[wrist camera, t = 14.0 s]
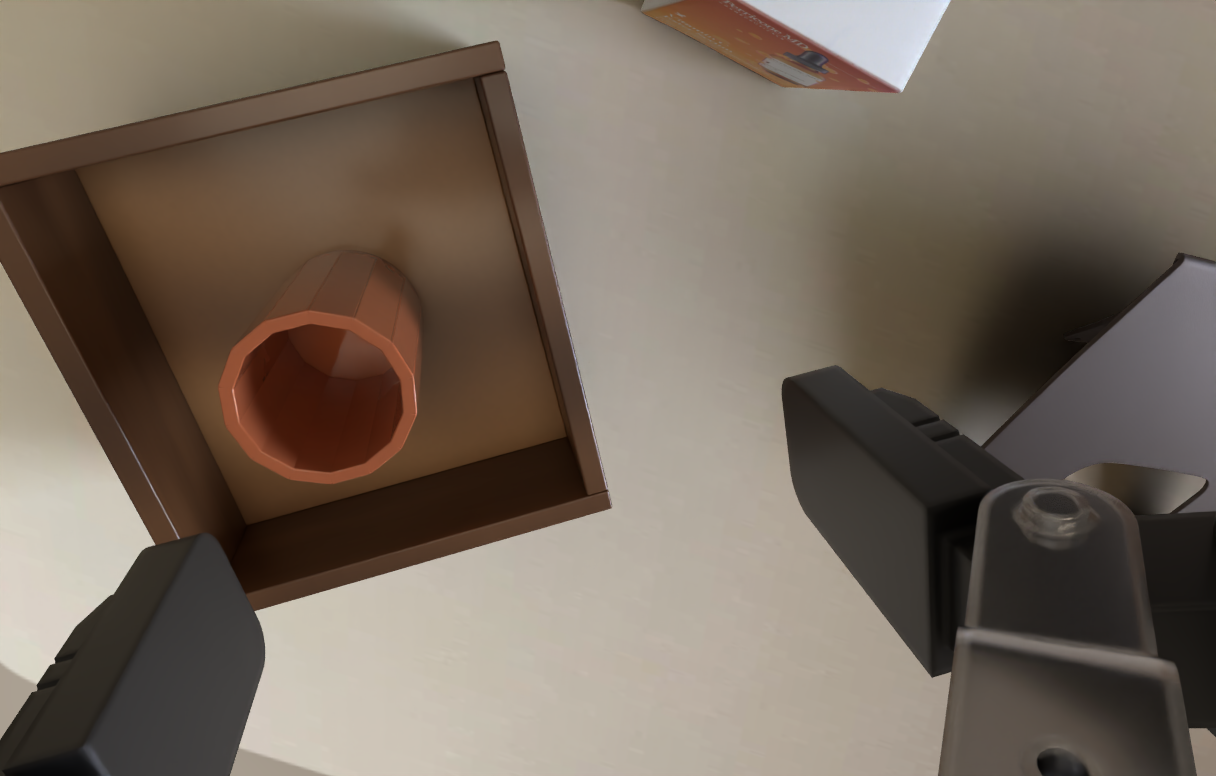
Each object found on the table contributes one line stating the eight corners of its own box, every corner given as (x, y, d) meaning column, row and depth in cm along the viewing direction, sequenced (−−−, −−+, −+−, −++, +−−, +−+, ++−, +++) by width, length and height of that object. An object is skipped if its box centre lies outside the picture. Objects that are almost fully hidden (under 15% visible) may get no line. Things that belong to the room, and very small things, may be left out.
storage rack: (130, 131, 32) (-55, 165, 20) (480, 51, 34) (498, 39, 22) (275, 458, 39) (199, 627, 27) (564, 379, 40) (613, 508, 28)
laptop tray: (848, 452, 52) (889, 575, 46) (1099, 162, 36) (1213, 290, 30) (1113, 492, 58) (1181, 605, 52) (1430, 258, 42) (1582, 382, 36)
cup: (254, 269, 28) (185, 340, 20) (400, 233, 28) (384, 290, 21) (306, 398, 30) (261, 504, 22) (442, 362, 30) (440, 455, 23)
